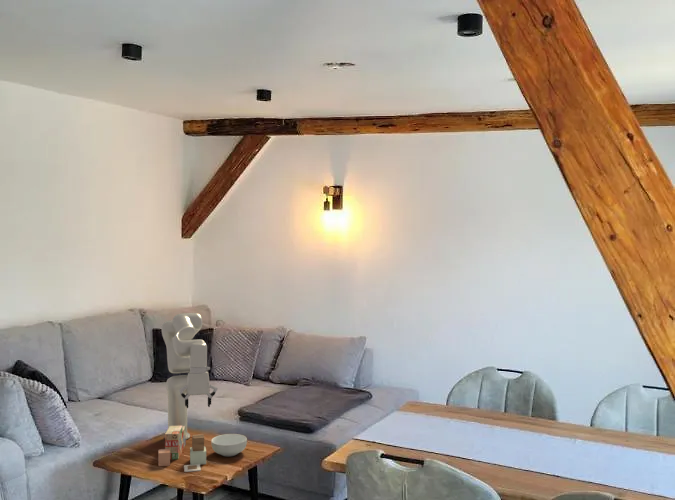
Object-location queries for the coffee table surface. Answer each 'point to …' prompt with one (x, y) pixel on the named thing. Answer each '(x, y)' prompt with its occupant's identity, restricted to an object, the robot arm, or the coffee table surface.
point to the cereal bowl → (229, 444)
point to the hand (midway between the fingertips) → (198, 406)
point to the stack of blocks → (175, 440)
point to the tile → (192, 468)
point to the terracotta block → (164, 457)
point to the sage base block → (197, 456)
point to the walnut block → (198, 442)
